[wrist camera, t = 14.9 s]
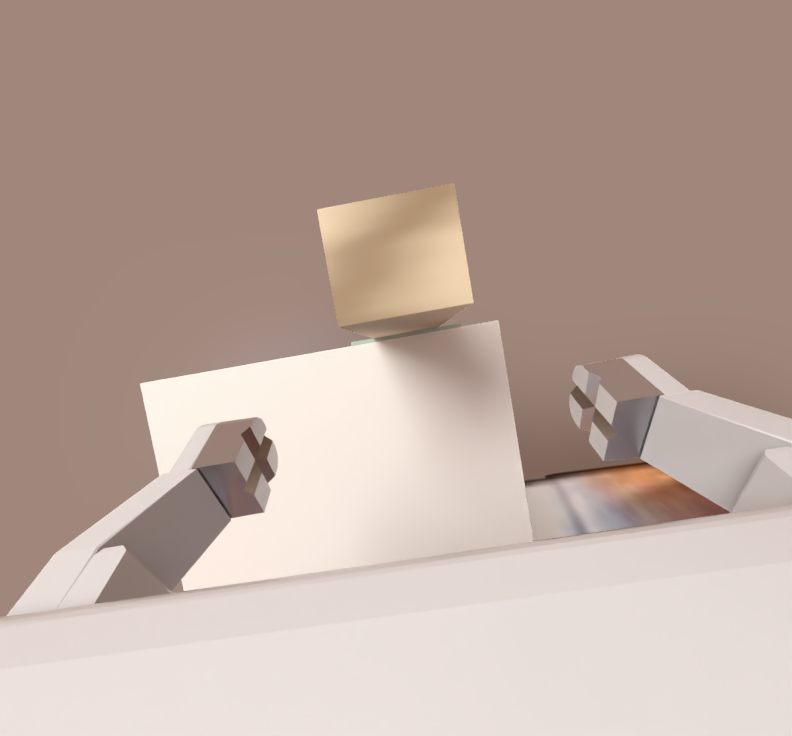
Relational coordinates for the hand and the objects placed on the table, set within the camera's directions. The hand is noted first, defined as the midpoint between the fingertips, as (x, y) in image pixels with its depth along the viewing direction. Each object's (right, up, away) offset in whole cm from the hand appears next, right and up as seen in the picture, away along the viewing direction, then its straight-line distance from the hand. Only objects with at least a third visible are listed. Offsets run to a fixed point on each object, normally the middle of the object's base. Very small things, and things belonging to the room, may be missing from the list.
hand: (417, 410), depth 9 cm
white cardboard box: (0, -23, +18) cm, 30 cm away
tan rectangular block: (0, +3, +12) cm, 12 cm away
